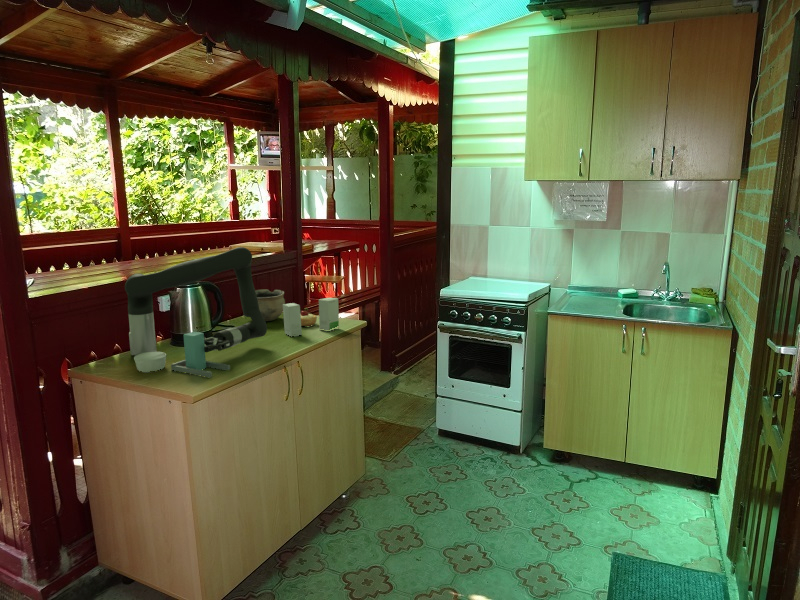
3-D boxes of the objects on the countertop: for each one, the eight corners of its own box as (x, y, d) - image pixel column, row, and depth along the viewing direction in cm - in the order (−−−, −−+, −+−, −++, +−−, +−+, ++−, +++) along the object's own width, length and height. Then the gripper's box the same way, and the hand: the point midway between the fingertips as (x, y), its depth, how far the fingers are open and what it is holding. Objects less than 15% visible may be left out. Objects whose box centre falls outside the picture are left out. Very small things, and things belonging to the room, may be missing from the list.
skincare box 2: (328, 332, 256) (328, 300, 253) (318, 330, 259) (317, 299, 256) (339, 328, 263) (339, 298, 260) (329, 327, 266) (328, 296, 263)
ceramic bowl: (294, 318, 286) (293, 290, 283) (268, 326, 266) (267, 297, 264) (261, 314, 295) (260, 288, 292) (234, 322, 275) (232, 294, 272)
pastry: (288, 327, 266) (288, 310, 264) (299, 322, 277) (299, 305, 275) (310, 329, 263) (309, 311, 261) (320, 323, 274) (320, 307, 272)
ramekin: (165, 372, 197) (164, 358, 196) (132, 374, 194) (131, 361, 193) (169, 363, 208) (168, 350, 207) (138, 365, 204) (136, 352, 203)
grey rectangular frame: (171, 370, 198) (171, 364, 198) (193, 363, 208) (192, 356, 207) (209, 378, 190) (209, 371, 190) (230, 369, 199) (229, 363, 199)
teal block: (186, 370, 199) (183, 334, 196) (196, 366, 203) (193, 331, 200) (195, 372, 197) (193, 336, 194) (206, 368, 201) (203, 333, 198)
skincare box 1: (302, 335, 249) (301, 305, 246) (290, 337, 246) (289, 306, 243) (295, 332, 256) (294, 302, 253) (283, 333, 253) (282, 303, 250)
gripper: (213, 327, 216) (182, 336, 201) (240, 331, 210) (210, 341, 195) (215, 345, 217) (183, 355, 203) (241, 349, 211) (211, 360, 197)
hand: (196, 348), depth 199 cm, fingers open, 8 cm apart
